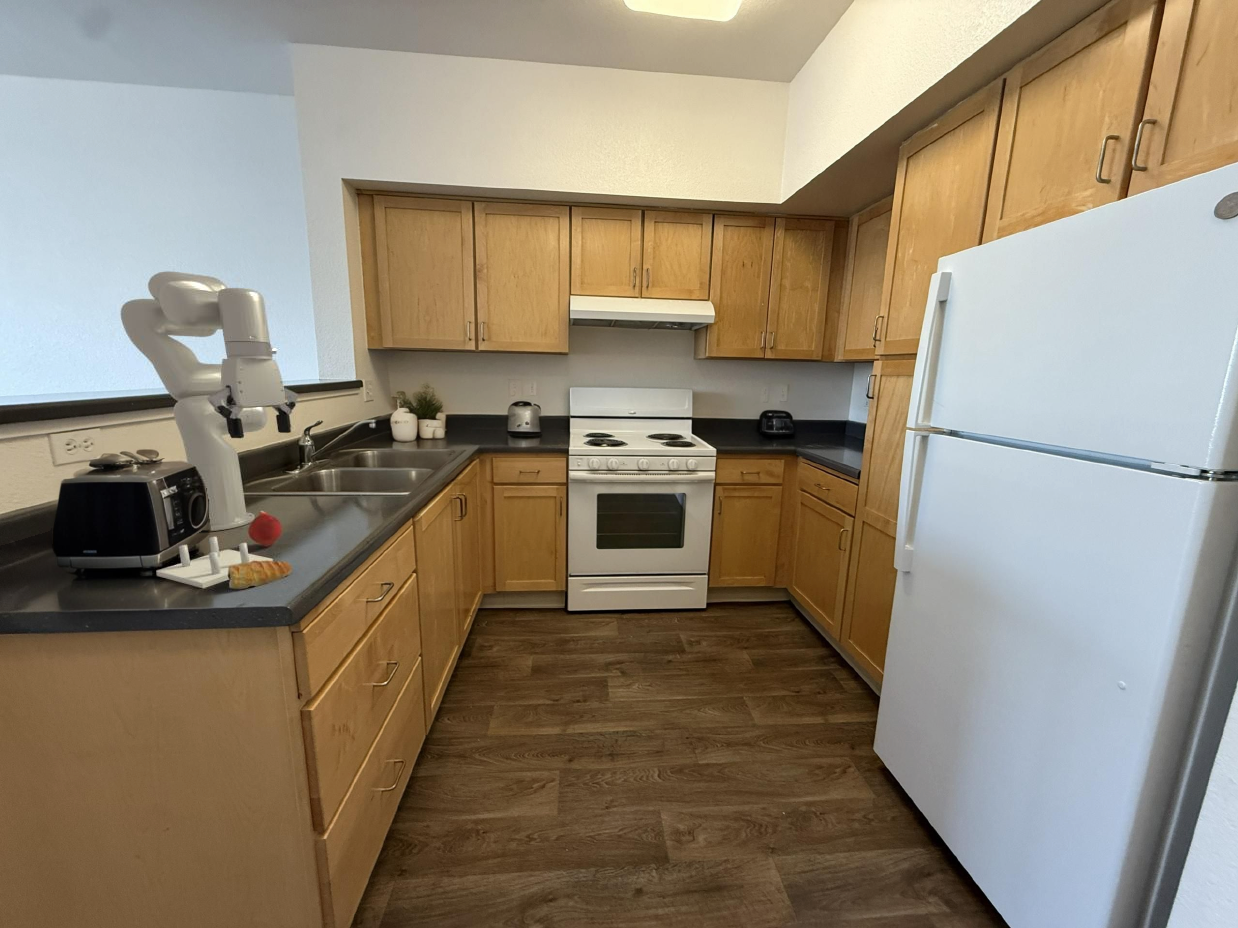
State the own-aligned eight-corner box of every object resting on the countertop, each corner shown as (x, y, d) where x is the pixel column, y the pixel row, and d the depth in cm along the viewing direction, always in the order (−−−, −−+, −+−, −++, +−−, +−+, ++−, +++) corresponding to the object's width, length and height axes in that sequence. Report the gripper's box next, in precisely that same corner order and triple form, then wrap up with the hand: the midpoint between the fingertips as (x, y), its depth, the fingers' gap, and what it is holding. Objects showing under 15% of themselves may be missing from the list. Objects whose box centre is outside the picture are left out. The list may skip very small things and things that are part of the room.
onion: (278, 539, 109) (274, 505, 108) (287, 545, 106) (283, 510, 104) (247, 546, 105) (242, 511, 103) (255, 553, 101) (250, 516, 100)
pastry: (287, 567, 94) (285, 549, 94) (295, 578, 90) (293, 559, 89) (226, 582, 88) (223, 562, 87) (231, 594, 83) (228, 574, 82)
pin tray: (157, 575, 90) (152, 550, 89) (228, 553, 101) (224, 530, 100) (203, 588, 85) (198, 561, 84) (273, 563, 96) (269, 539, 95)
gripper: (279, 354, 109) (289, 430, 112) (188, 351, 93) (204, 440, 96) (302, 353, 106) (312, 431, 109) (213, 349, 90) (228, 440, 93)
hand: (262, 435), depth 102 cm, fingers open, 9 cm apart
